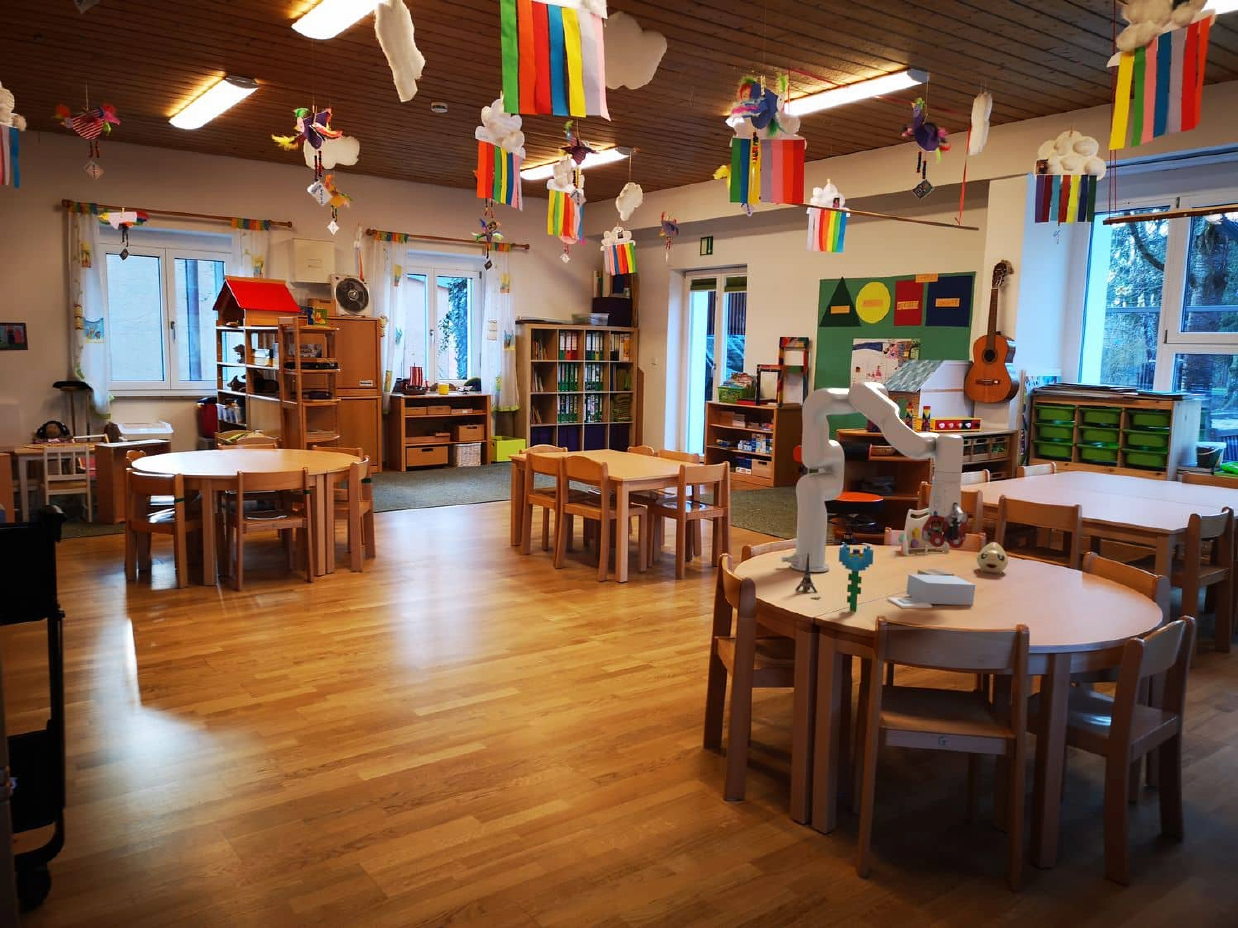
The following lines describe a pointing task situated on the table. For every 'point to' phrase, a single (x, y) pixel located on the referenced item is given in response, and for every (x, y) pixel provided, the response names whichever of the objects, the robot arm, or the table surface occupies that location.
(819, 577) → the table surface
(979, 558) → the yellow animal figurine
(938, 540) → the toy fire truck
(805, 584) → the eiffel tower figurine
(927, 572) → the tan block
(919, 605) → the tile
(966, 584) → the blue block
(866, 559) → the toy flower
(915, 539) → the shape sorter
